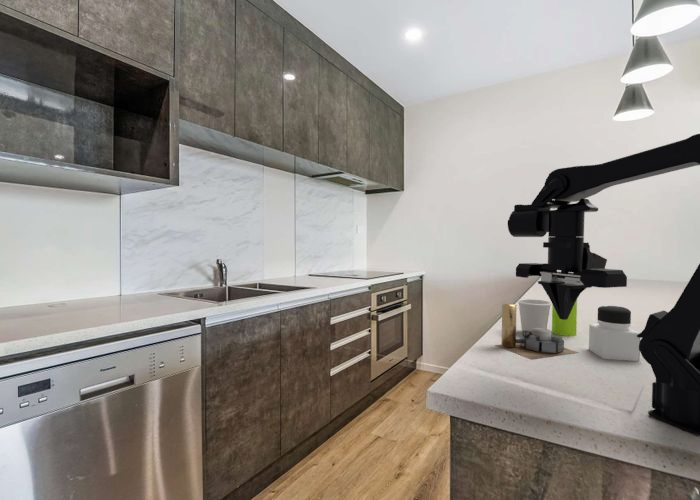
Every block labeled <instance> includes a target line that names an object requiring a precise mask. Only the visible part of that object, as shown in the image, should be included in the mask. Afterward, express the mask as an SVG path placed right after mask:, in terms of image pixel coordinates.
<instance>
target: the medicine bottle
mask: <svg viewBox="0 0 700 500" xmlns="http://www.w3.org/2000/svg"><path fill="white" fill-rule="evenodd" d="M631 317H632V312H631V310H630V309H629V308H626V307H624V306H618V305H617V306H616V305H602V306H599V307H598V308H597V323H590V324H589V325H588V326H589V328H588V329H589V330H588V331H589V332H588V350H589V351H591V352H592V353H594V355H596V356H598V357H599V358H602V359H604V360H617V361H618V360H620V361H634V362H635V361H636V362H640V358H641V357H640V354H641V352H640V351H639V343H640V340H641V338H639V337H637V335H638V334H640V333H641V332H638V331H636V330H633V329H631V323H632V321H631V320H632V319H631Z"/></svg>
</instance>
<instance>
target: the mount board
mask: <svg viewBox="0 0 700 500" xmlns="http://www.w3.org/2000/svg"><path fill="white" fill-rule="evenodd" d="M551 331H552V329H549V328H547V329H544V328H533V329H532V335H537V336H540V339H539V340H543V341H551ZM495 347H498V348H500V349H502V350H503V349H504V350H506V351H509V352H510V353H513V354H515V355H518V356H521V357H524V358H526V359H529V360H531V361H533V360H539V359H546V358H553V357H559V356H566V355H567V356H568V355H573V354H580V352H578V351H575V350H573V349H570V348H566V347H564V351H561V352H559V353H557V352H556V353H547V352H541V351H540V352H538V351H534V350H530V349H526V348H524V347H523V346H522V345H520V343H516V347H505V346H502V344H496V345H495Z"/></svg>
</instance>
